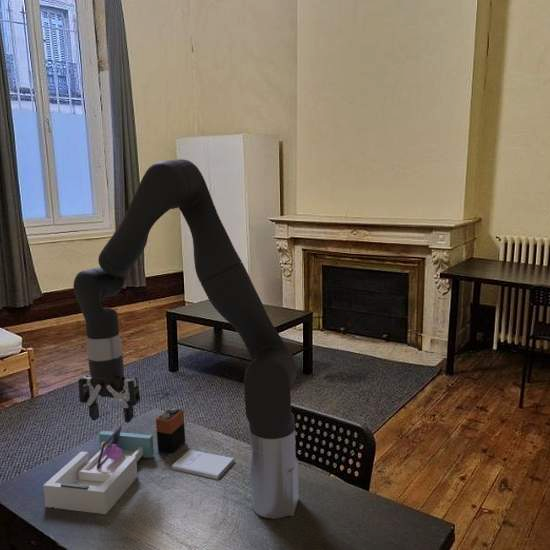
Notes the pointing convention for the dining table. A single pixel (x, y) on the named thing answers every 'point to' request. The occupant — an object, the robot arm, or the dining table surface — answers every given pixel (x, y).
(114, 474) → the open box
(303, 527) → the dining table surface
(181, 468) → the external hard drive
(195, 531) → the dining table surface
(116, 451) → the purple toy kit
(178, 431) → the battery
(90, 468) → the drawer
